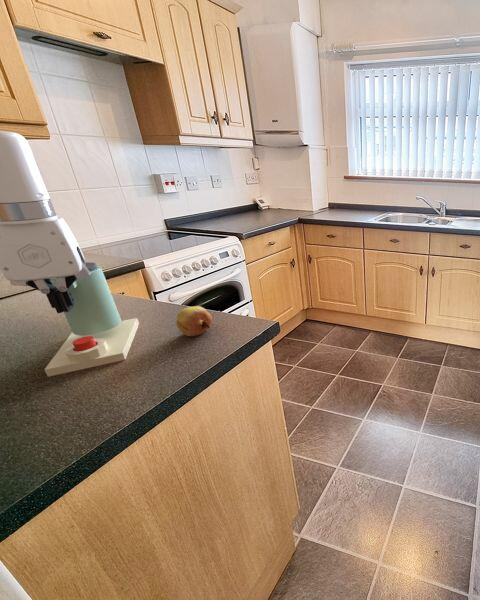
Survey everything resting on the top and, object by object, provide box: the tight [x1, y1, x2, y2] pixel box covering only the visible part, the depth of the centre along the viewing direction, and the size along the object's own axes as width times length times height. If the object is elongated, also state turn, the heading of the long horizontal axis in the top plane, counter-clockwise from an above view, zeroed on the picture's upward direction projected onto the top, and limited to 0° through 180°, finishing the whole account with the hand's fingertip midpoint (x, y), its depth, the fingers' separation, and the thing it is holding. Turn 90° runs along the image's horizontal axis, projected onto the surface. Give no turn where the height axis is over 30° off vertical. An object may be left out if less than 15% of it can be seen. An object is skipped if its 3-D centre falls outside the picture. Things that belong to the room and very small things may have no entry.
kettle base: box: [44, 317, 140, 378], centre depth 73 cm, size 18×12×4 cm, turn 28°
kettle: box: [50, 261, 122, 336], centre depth 72 cm, size 12×8×14 cm
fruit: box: [175, 305, 213, 337], centre depth 78 cm, size 7×7×10 cm
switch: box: [72, 336, 97, 351], centre depth 67 cm, size 3×3×2 cm
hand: (65, 309), depth 64 cm, fingers closed
